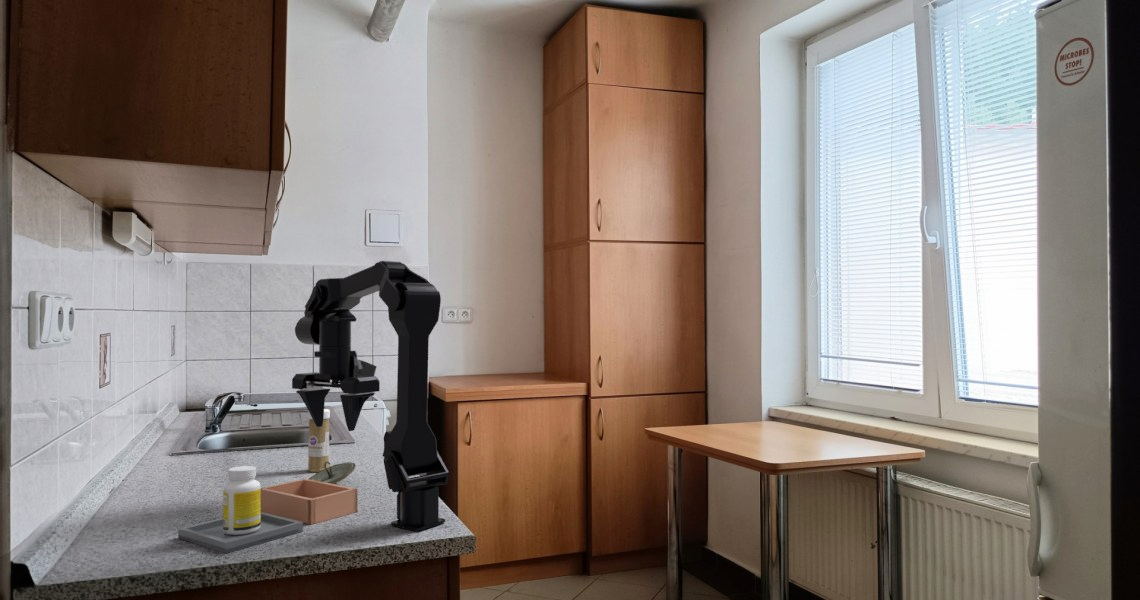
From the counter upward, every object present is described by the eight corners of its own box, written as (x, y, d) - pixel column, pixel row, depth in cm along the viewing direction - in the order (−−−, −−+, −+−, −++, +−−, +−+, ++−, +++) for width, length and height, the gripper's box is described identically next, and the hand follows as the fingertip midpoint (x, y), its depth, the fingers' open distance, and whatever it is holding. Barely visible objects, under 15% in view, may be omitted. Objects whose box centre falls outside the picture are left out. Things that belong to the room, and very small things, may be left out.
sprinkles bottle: (304, 472, 164) (304, 410, 164) (312, 468, 168) (312, 408, 168) (325, 472, 164) (325, 410, 164) (332, 468, 168) (332, 408, 168)
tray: (302, 531, 120) (302, 522, 120) (226, 553, 109) (226, 543, 109) (254, 519, 127) (254, 510, 127) (178, 538, 116) (178, 528, 116)
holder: (357, 511, 132) (357, 488, 132) (311, 524, 124) (311, 500, 124) (304, 500, 140) (304, 478, 140) (258, 511, 132) (258, 488, 132)
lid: (363, 487, 150) (363, 462, 150) (313, 494, 144) (313, 468, 145) (345, 478, 159) (345, 454, 159) (297, 484, 153) (297, 459, 153)
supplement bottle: (267, 527, 120) (268, 465, 120) (245, 537, 115) (245, 472, 115) (239, 525, 121) (239, 464, 122) (215, 534, 116) (215, 470, 116)
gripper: (401, 345, 143) (401, 427, 143) (337, 343, 154) (337, 419, 154) (355, 347, 134) (355, 435, 134) (290, 345, 145) (290, 426, 144)
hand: (335, 428), depth 142 cm, fingers open, 9 cm apart
